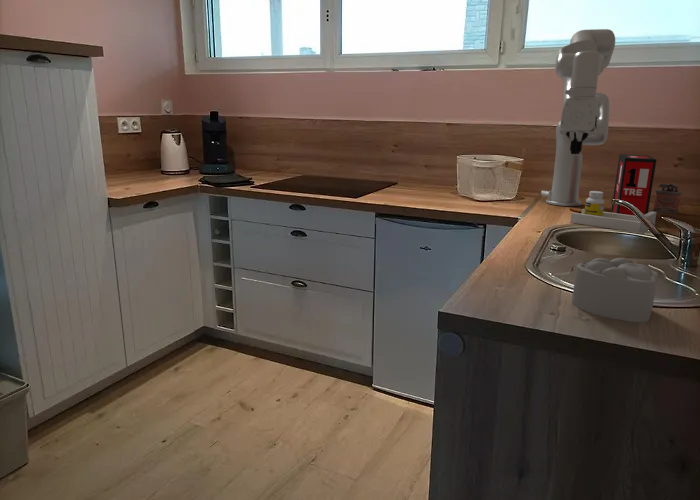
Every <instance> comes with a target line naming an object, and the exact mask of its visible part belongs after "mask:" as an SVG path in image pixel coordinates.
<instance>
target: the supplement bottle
mask: <svg viewBox="0 0 700 500" xmlns="http://www.w3.org/2000/svg"><path fill="white" fill-rule="evenodd" d="M588 195H589V196H588V198H586V199H585V200H586V201H585V206H584V209H585V212H584V214H588V215H595V216H602V217H603V212H604V210H605V200H604V199H603V197H604V192H603V191H597V190H590V191H589V194H588Z"/></svg>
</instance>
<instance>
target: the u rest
mask: <svg viewBox="0 0 700 500" xmlns="http://www.w3.org/2000/svg"><path fill="white" fill-rule="evenodd" d="M584 212H585V208H582V209H581V213H579V212H571V215H570V221H569V222H570V223H573V224H579V225H585V226H592V227H598V228H605V229H611V230H618V231H624V232H625V231H626V232H631V233H638V234H646V233H648V232H649V231H648V229H647V228H646V226H645V225H644V224H643V223H642V222H641V221H640V220H639V219H638V218H637V217H636V216H633V215H625V214H618V213H612V212H611V211H609V212H608V211H603V217H602V216H595V215H588V214H584ZM657 213H658V212H655V211H648V213H647V214H645V215H644V216H645V217H646V218H647V219H648V220H650V221H651V222H652V223H653V224H654V226H656V225H655V223H656V218H657Z"/></svg>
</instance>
